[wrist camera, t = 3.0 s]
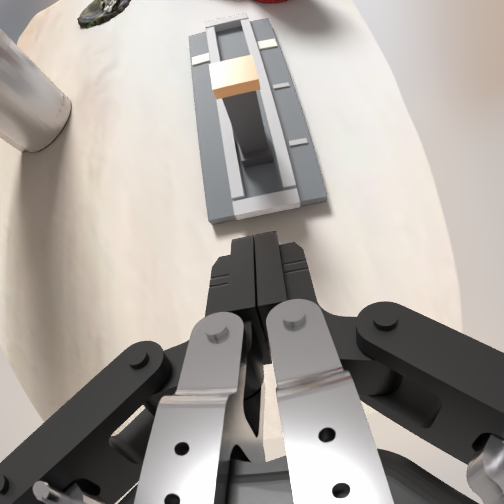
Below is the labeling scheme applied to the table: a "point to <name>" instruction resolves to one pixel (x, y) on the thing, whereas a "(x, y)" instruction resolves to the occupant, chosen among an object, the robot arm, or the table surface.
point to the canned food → (270, 1)
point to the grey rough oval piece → (101, 12)
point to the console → (274, 118)
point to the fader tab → (242, 107)
